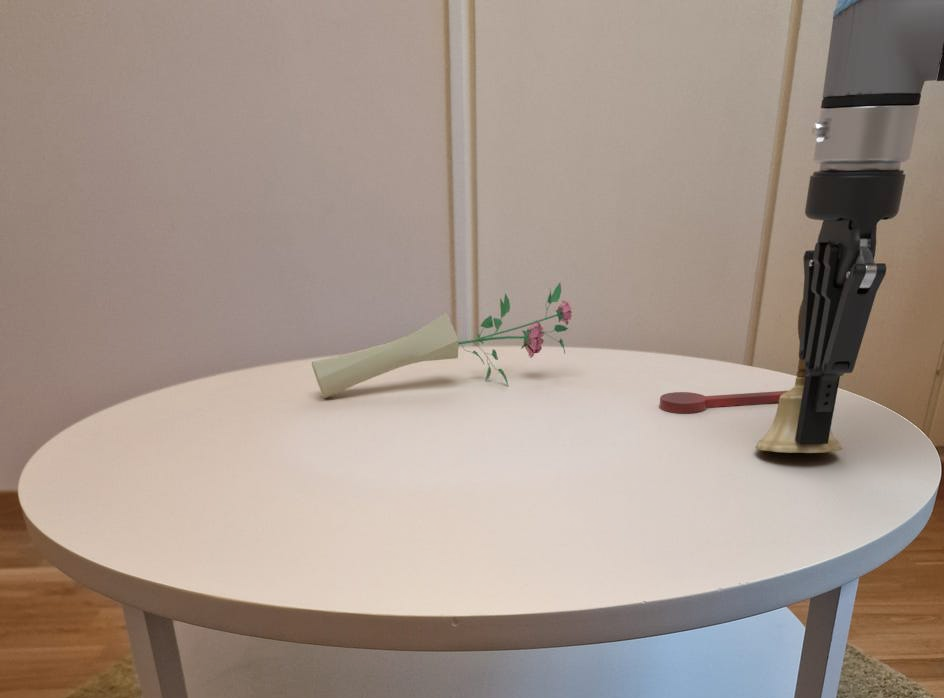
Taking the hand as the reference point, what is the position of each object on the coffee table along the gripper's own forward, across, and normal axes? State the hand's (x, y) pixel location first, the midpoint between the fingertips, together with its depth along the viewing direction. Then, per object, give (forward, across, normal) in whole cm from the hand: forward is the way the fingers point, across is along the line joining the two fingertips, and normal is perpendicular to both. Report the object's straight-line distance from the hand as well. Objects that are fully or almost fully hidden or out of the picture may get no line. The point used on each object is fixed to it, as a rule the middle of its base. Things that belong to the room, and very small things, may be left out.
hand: (811, 441), depth 86 cm
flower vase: (+3, -38, -36) cm, 53 cm away
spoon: (+3, -25, 0) cm, 25 cm away
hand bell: (+2, -4, 0) cm, 4 cm away
